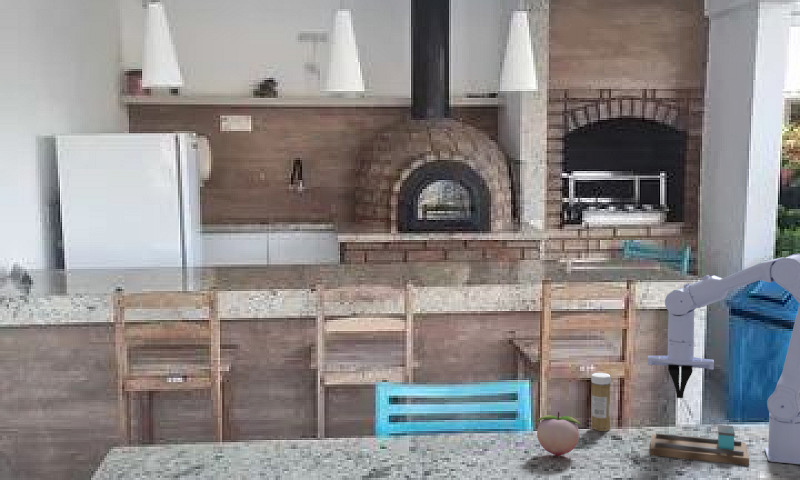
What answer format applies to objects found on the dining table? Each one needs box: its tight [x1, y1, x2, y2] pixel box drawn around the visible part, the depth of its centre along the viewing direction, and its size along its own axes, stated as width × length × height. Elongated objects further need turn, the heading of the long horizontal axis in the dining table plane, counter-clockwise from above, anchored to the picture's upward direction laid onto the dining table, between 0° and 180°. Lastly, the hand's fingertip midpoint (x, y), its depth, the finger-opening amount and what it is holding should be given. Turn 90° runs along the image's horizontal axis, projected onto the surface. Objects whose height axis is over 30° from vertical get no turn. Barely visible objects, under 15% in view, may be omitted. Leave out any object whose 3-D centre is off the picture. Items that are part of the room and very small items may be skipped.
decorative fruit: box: [536, 411, 581, 457], centre depth 174 cm, size 9×8×10 cm
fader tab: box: [717, 424, 736, 450], centre depth 174 cm, size 3×5×4 cm, turn 161°
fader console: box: [649, 432, 750, 466], centre depth 176 cm, size 20×10×2 cm, turn 71°
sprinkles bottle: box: [590, 372, 612, 432], centre depth 192 cm, size 5×5×14 cm
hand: (679, 396), depth 186 cm, fingers closed
